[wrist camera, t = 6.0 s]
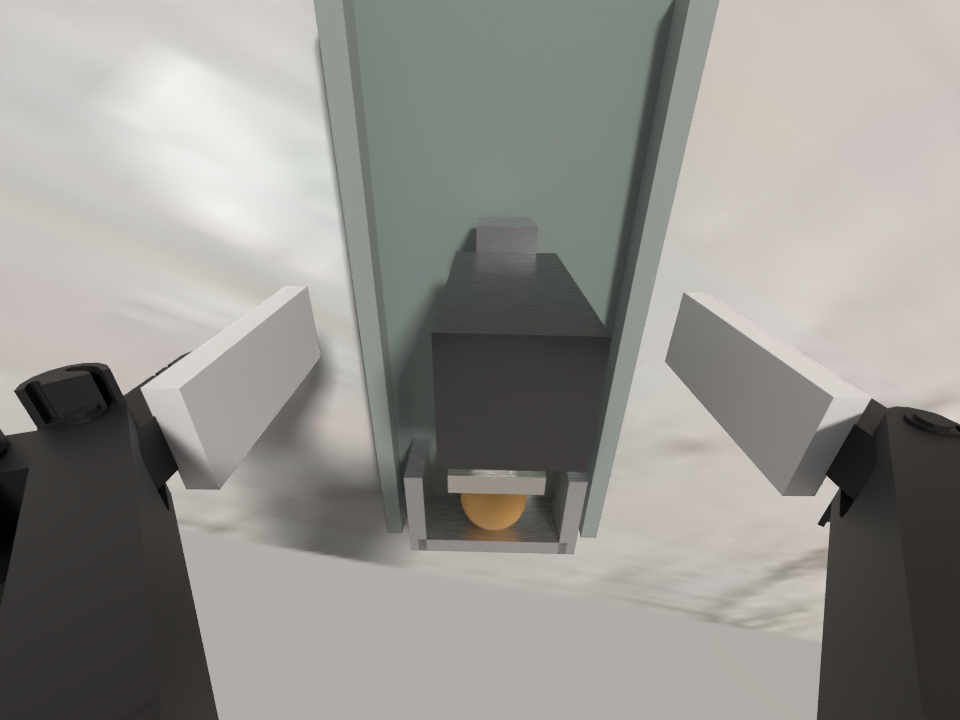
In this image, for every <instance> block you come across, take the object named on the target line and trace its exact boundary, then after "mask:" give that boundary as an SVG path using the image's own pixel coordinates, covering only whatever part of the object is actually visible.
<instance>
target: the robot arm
mask: <svg viewBox="0 0 960 720" xmlns="http://www.w3.org/2000/svg"><path fill="white" fill-rule="evenodd" d="M320 357H321V354H320V348H319V343H318V338H317V333H316V328H315V323H314V318H313V313H312V307H311V302H310V297H309V292H308V287H307V286H284V287H283V288H281V289H280V290H279V291H277V292H276V293H274V294H273V295H272V296H270V297H269V298H267V299H266V300H264V301H263V302H262V303H260V304H259V305H257V306H256V307H254V308H253V309H252V310H250V311H249V312H247V313H246V314H245V315H243V316H242V317H240V318H239V319H237V320H236V321H235V322H233V323H232V324H230V325H229V326H228V327H226V328H225V329H223V330H222V331H220V332H219V333H218V334H216V335H215V336H213V337H212V338H211V339H209V340H208V341H206V342H205V343H203V344H202V345H201V346H199V347H198V348H196V349H195V350H194V351H191V352H189V353H186V354H184V355H182V356H180V357H179V358H177V359H176V360H175V361H173V362H172V363H170V364H169V365H168V367H164V368H163V369H162V370H160V371H159V372H157V373H156V376H152V377H150V378H149V379H147V380H146V381H144V382H143V383H141V384H140V385H139V386H137V387H136V388H134V389H133V390H131V391H130V392H128V393H127V394H126V395H124V396H123V395H122V393H121V391H120V388H119V386H118V384H117V382H116V380H115V378H114V376H113V374H112V372H111V370H110V368H109V367H108V366H107V365H106V364H101V363H82V364H76V365H70V366H65V367H61V368H57V369H54V370H50V371H47V372H45V373H42V374H39V375H37V376H34V377H32V378H30V379H29V380H27V381H25V382H23V383H22V384H20V385H19V386H18V387H17V388H16V390H15V391H14V392H15V393H16V395H17V397H18V398H19V400H20V401H21V403H22V404H23V406H24V408H25V409H26V411H27V412H28V414H29V415H30V417H31V418H32V420H33V422H34V423H35V425H36V426H37V431H32V432H26V433H19V434H13V435H7V436H5V435H4V434H3V432H2V431H1V429H0V720H219V719H218V714H217V710H216V705H215V700H214V695H213V691H212V686H211V681H210V676H209V672H208V667H207V662H206V657H205V653H204V648H203V643H202V638H201V634H200V629H199V624H198V619H197V615H196V610H195V606H194V600H193V596H192V591H191V586H190V581H189V577H188V572H187V567H186V562H185V558H184V553H183V548H182V543H181V539H180V534H179V529H178V524H177V520H176V515H175V510H174V505H173V501H172V496H171V493H170V491H169V489H168V487H167V485H166V481H167V480H168V479H169V478H170V477H171V476H172V475H173V474H174V473H175V472H176V471H177V470H178V472H179V474H180V476H181V478H182V480H183V483H184V485H185V487H186V489H214V490H220V489H221V487H222V486H223V485H224V483H225V482H226V481H227V479H228V478H229V477H230V476H231V474H232V473H233V472H234V470H235V469H236V468H237V466H238V465H239V464H240V462H241V461H242V460H243V458H244V457H245V456H246V455H247V453H248V452H249V451H250V449H251V448H252V447H253V445H254V444H255V443H256V441H257V440H258V439H259V437H260V436H261V435H262V434H263V432H264V431H265V430H266V428H267V427H268V426H269V424H270V423H271V422H272V420H273V419H274V418H275V416H276V415H277V414H278V413H279V411H280V410H281V409H282V407H283V406H284V405H285V403H286V402H287V401H288V399H289V398H290V397H291V395H292V394H293V393H294V392H295V390H296V389H297V388H298V386H299V385H300V384H301V382H302V381H303V380H304V378H305V377H306V376H307V374H308V373H309V372H310V371H311V369H312V368H313V367H314V365H315V364H316V363H317V361H318V360H319V359H320ZM665 362H666V363H667V364H668V365H669V367H670V368H671V369H672V370H673V371H674V372H675V373H676V375H677V376H678V377H679V378H680V379H681V380H682V381H683V383H684V384H685V385H686V386H687V387H688V388H689V390H690V391H691V392H692V393H693V394H694V395H695V396H696V398H697V399H698V400H699V401H700V402H701V403H702V404H703V406H704V407H705V408H706V409H707V410H708V411H709V412H710V414H711V415H712V416H713V417H714V418H715V419H716V420H717V422H718V423H719V424H720V425H721V426H722V427H723V428H724V430H725V431H726V432H727V433H728V434H729V435H730V436H731V438H732V439H733V440H734V441H735V442H736V443H737V444H738V446H739V447H740V448H741V449H742V450H743V451H744V452H745V454H746V455H747V456H748V457H749V458H750V459H751V460H752V462H753V463H754V464H755V465H756V466H757V467H758V468H759V470H760V471H761V472H762V473H763V474H764V475H765V476H766V478H767V479H768V480H769V481H770V482H771V483H772V484H773V486H774V487H775V488H776V489H777V490H778V491H779V492H780V494H781V495H782V496H815V495H816V493H817V491H818V489H819V488H820V486H821V484H822V483H823V481H824V479H825V477H826V476H828V477H829V478H830V479H831V480H832V481H833V482H834V483H835V484H836V485H837V486H838V487H839V490H838V491H837V493H836V495H835V496H834V498H833V500H832V501H831V503H830V505H829V506H828V508H827V509H826V511H825V513H824V514H823V516H822V518H821V519H820V521H819V523H818V525H820V526H823V527H824V525H825V524H826V523H827V522H830V534H829V549H828V564H827V578H826V593H825V608H824V623H823V638H822V653H821V668H820V684H819V699H818V713H817V720H960V424H958V423H956V422H954V421H951V420H949V419H947V418H945V417H943V416H941V415H938V414H935V413H932V412H928V411H924V410H919V409H915V408H910V407H892V408H886V407H885V406H883V405H881V404H880V403H878V402H877V401H875V400H874V399H872V398H871V397H869V396H868V395H866V394H865V393H863V392H862V391H860V390H858V389H857V388H855V387H854V386H852V385H850V384H849V383H847V382H846V381H844V380H843V379H841V378H839V377H838V376H836V375H835V374H833V373H832V372H830V371H828V370H827V369H825V368H824V367H822V366H821V365H819V364H817V363H816V362H814V361H813V360H811V359H810V358H808V357H806V356H805V355H803V354H802V353H800V352H798V351H797V350H795V349H794V348H792V347H791V346H789V345H787V344H786V343H784V342H783V341H781V340H780V339H778V338H776V337H775V336H773V335H772V334H770V333H769V332H767V331H765V330H764V329H762V328H761V327H759V326H758V325H756V324H754V323H753V322H751V321H750V320H748V319H746V318H745V317H743V316H742V315H740V314H739V313H737V312H735V311H734V310H732V309H731V308H729V307H728V306H726V305H724V304H723V303H721V302H720V301H718V300H717V299H715V298H713V297H712V296H710V295H709V294H707V293H706V292H684V293H683V297H682V300H681V304H680V308H679V311H678V315H677V319H676V322H675V326H674V330H673V334H672V337H671V341H670V345H669V348H668V352H667V356H666V359H665Z"/></svg>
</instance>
